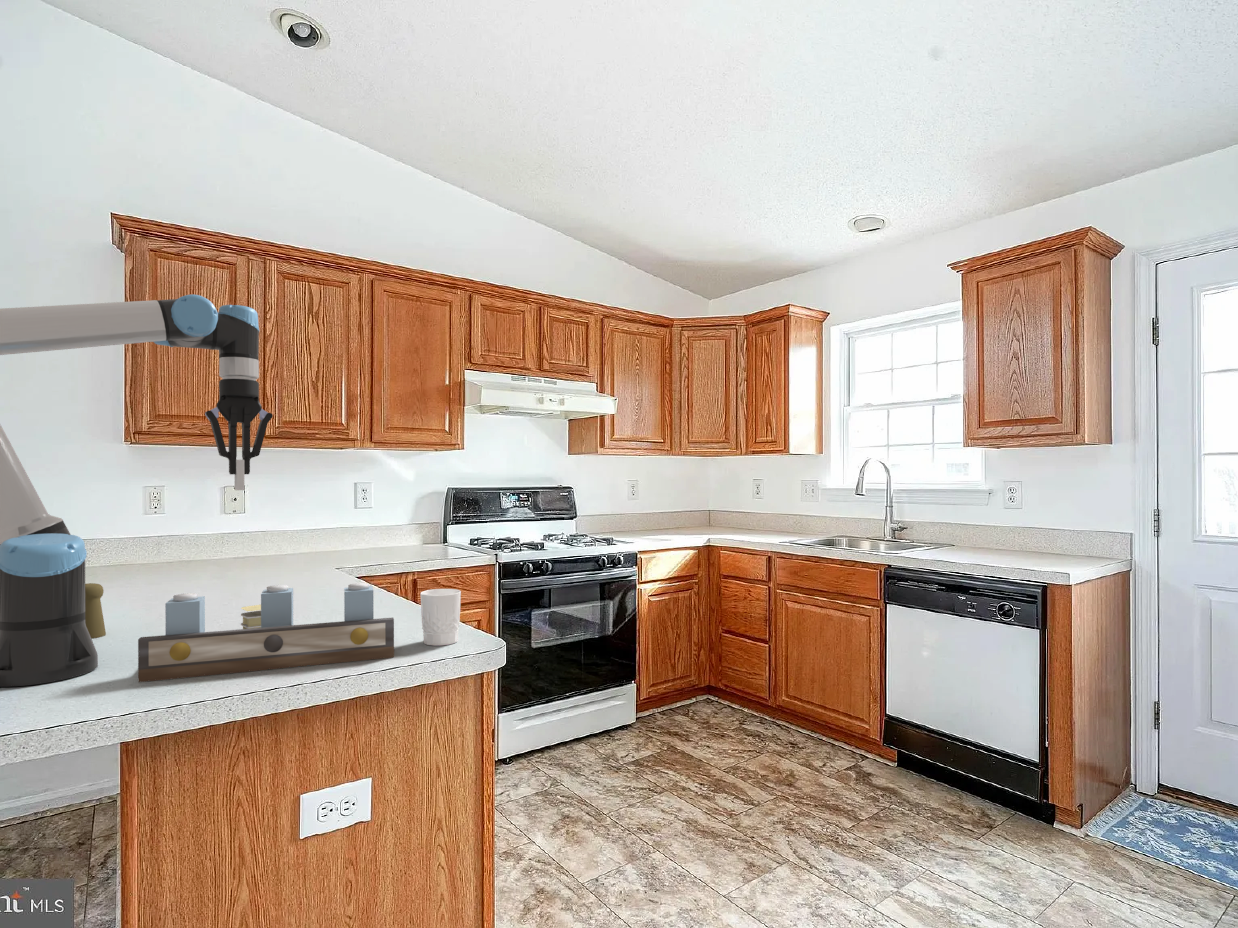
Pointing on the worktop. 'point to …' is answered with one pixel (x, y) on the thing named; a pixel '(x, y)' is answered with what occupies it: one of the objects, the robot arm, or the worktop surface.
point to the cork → (94, 610)
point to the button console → (263, 648)
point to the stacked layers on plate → (251, 617)
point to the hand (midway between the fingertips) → (239, 490)
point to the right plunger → (358, 602)
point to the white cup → (440, 616)
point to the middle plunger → (277, 606)
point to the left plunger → (185, 614)
